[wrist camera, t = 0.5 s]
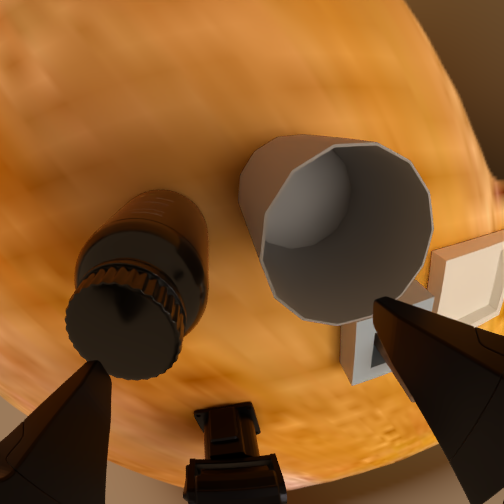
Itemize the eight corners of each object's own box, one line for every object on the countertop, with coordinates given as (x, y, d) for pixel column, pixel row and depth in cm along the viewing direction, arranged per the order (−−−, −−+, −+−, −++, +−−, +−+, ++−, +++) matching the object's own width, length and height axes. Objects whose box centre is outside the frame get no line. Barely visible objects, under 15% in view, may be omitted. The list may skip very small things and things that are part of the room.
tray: (488, 305, 30) (498, 314, 28) (418, 338, 29) (428, 350, 27) (504, 229, 25) (517, 236, 23) (432, 251, 25) (446, 260, 23)
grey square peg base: (404, 340, 29) (420, 360, 26) (339, 362, 28) (351, 385, 25) (414, 278, 26) (434, 296, 22) (340, 299, 25) (356, 322, 22)
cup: (346, 131, 20) (436, 142, 11) (350, 236, 23) (423, 301, 14) (229, 143, 19) (245, 153, 10) (245, 254, 22) (269, 340, 13)
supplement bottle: (219, 264, 22) (230, 386, 12) (136, 284, 22) (92, 403, 11) (195, 174, 20) (174, 233, 9) (105, 201, 19) (14, 280, 8)
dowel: (390, 332, 27) (435, 393, 19) (365, 341, 27) (406, 407, 19) (393, 309, 26) (445, 369, 18) (367, 317, 26) (414, 384, 18)
